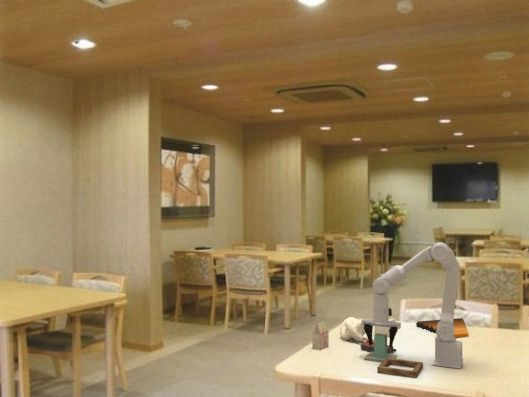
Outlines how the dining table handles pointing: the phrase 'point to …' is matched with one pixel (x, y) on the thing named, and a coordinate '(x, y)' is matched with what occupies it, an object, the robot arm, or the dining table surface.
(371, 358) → the ceramic tile
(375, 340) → the green block
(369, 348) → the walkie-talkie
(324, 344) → the tea box
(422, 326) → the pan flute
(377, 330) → the medicine bottle
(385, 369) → the brown square frame
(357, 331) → the cream rounded sculpture
